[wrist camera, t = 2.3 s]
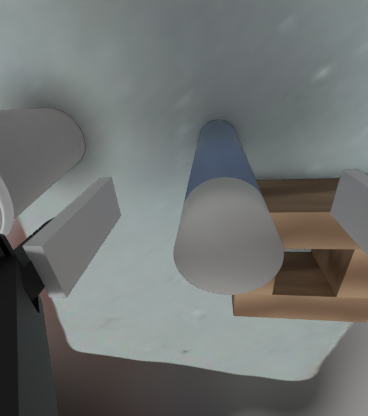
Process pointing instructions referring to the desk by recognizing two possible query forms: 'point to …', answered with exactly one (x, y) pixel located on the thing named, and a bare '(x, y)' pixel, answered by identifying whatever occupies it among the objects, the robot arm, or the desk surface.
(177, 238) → the marker
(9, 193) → the coffee cup
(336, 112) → the desk surface
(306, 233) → the socket block
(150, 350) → the desk surface
